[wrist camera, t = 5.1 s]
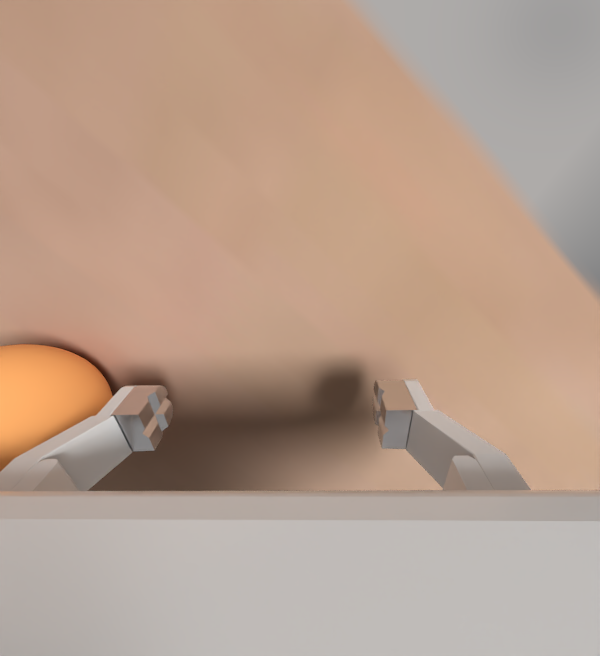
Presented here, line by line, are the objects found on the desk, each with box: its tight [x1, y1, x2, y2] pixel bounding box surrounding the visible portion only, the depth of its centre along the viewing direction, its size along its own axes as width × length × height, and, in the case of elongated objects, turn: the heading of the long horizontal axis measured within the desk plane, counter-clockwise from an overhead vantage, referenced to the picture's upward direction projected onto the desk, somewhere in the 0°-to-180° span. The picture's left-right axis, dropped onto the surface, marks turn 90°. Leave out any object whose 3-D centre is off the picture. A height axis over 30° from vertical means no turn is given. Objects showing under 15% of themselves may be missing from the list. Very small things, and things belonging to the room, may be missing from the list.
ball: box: [0, 344, 113, 472], centre depth 11 cm, size 6×6×6 cm
